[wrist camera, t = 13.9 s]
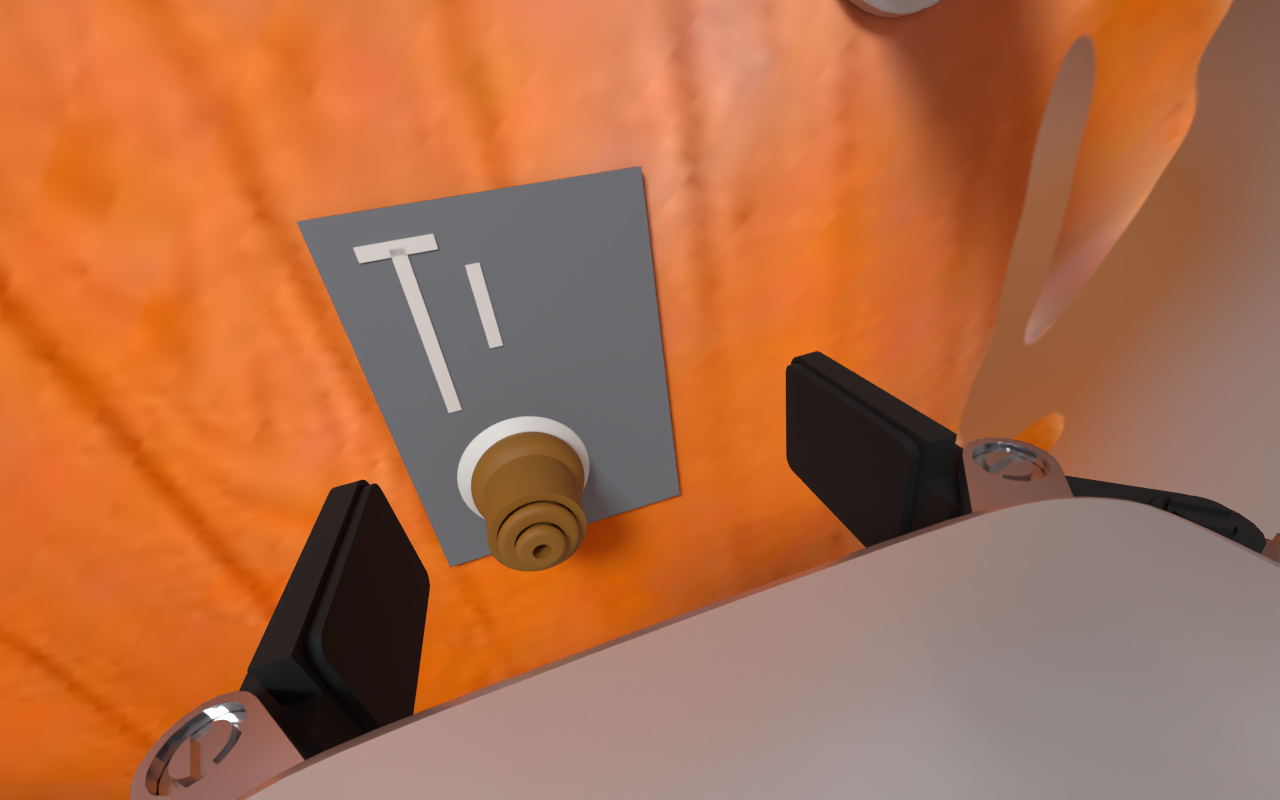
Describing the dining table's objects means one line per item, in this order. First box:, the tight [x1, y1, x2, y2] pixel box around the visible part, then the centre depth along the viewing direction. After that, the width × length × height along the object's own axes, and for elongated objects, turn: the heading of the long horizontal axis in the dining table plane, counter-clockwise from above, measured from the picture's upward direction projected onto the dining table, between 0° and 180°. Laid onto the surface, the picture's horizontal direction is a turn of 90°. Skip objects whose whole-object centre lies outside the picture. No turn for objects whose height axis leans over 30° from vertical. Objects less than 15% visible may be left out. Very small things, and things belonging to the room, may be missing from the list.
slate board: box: [297, 167, 680, 567], centre depth 31 cm, size 18×24×1 cm
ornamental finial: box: [471, 431, 587, 571], centre depth 30 cm, size 8×8×8 cm
